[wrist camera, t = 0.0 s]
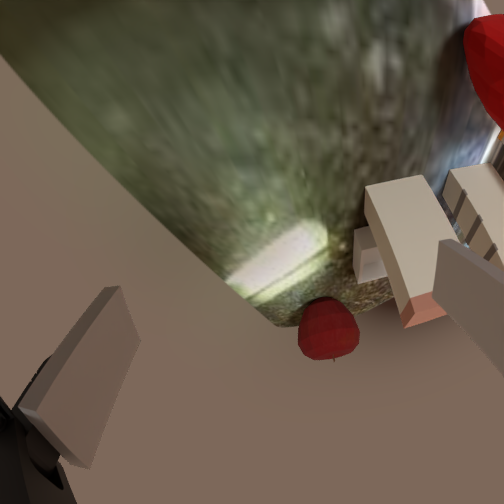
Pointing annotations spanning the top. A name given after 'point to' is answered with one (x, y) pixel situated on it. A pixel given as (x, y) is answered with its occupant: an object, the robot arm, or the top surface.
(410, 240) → the stub
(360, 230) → the tray
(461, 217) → the block
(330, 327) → the apple
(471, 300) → the robot arm
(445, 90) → the top surface
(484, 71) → the tomato
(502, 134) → the supplement box
